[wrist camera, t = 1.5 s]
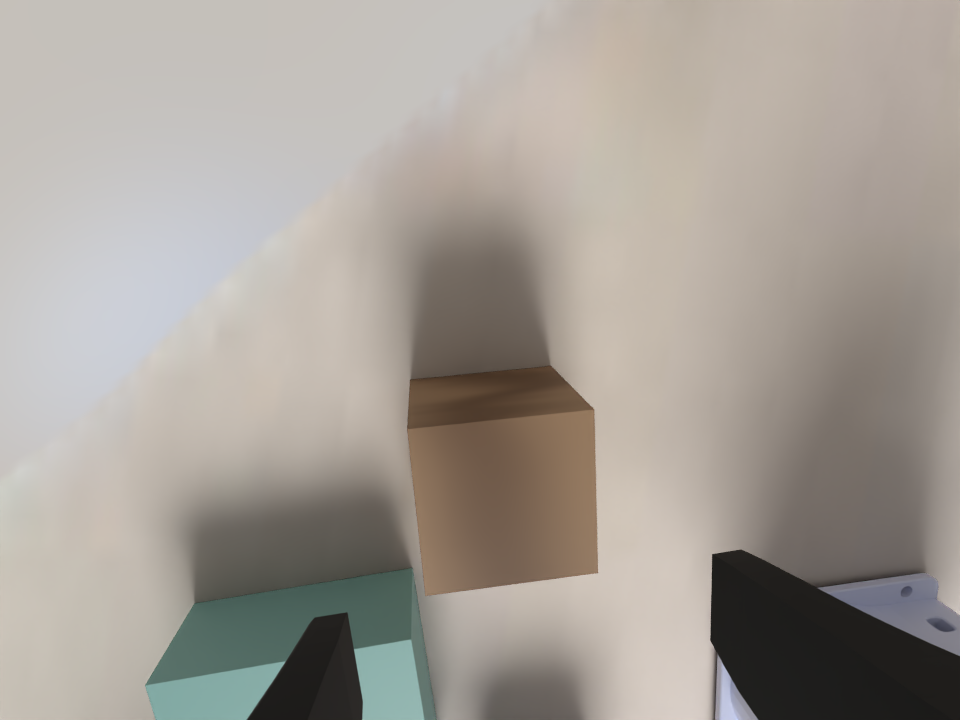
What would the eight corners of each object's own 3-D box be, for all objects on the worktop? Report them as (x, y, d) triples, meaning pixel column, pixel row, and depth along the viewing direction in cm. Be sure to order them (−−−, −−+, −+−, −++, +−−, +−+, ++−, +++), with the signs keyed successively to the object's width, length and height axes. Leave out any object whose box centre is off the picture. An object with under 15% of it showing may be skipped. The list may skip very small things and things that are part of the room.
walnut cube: (550, 365, 19) (593, 409, 15) (555, 492, 21) (597, 573, 16) (410, 379, 19) (407, 429, 14) (423, 508, 20) (425, 595, 15)
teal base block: (412, 563, 21) (411, 639, 17) (438, 731, 23) (443, 832, 19) (197, 598, 20) (144, 685, 16) (243, 767, 22) (206, 881, 18)
